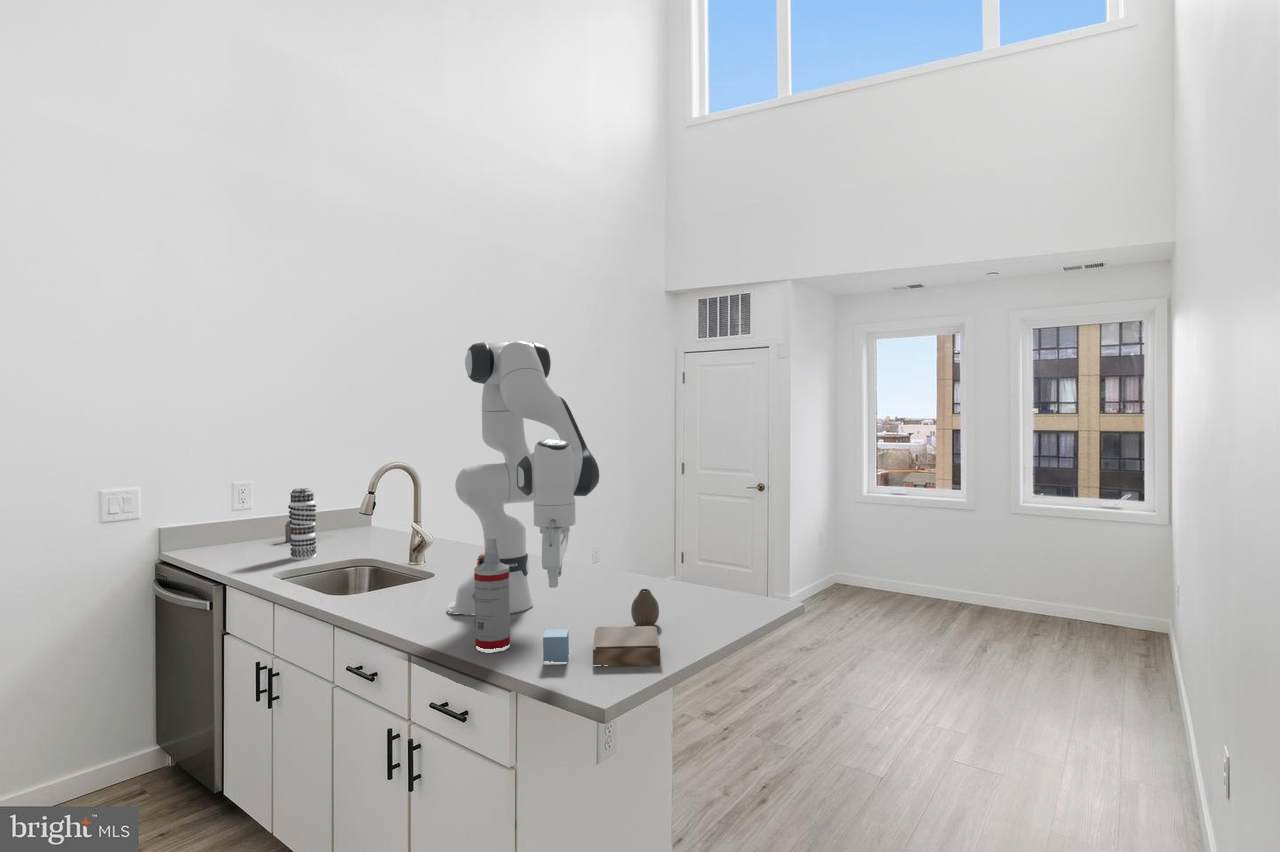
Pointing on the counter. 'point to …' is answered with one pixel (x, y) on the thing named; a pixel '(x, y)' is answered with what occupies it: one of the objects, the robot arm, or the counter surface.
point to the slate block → (556, 645)
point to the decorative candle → (302, 524)
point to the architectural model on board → (288, 531)
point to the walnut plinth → (626, 646)
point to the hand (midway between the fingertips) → (555, 581)
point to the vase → (645, 609)
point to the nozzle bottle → (492, 600)
